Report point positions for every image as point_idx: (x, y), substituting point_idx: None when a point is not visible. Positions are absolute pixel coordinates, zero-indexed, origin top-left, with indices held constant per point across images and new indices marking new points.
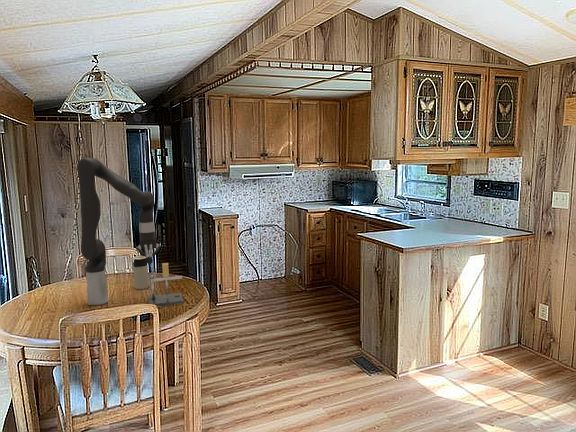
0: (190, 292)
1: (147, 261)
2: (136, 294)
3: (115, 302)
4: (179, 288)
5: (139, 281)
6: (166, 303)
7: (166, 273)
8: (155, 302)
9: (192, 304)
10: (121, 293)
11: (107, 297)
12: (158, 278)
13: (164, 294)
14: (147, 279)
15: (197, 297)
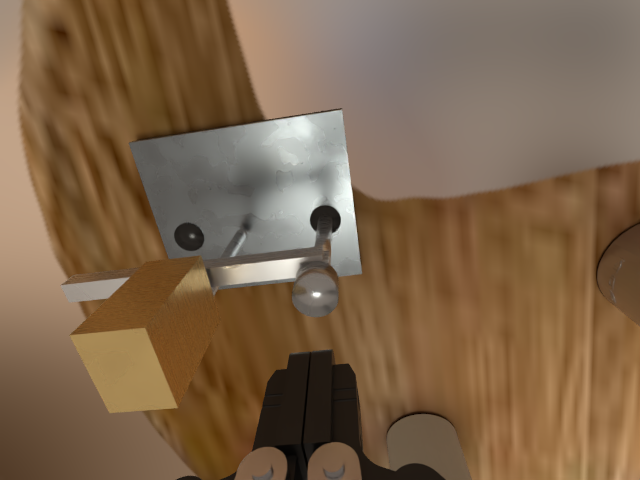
0: None
1: (343, 388)
2: (439, 347)
3: (551, 245)
4: (227, 385)
5: (437, 450)
6: (229, 126)
7: (154, 272)
8: (300, 143)
9: (72, 109)
10: (520, 377)
11: (613, 280)
12: (257, 268)
13: (273, 282)
14: (395, 467)
15: (85, 232)
